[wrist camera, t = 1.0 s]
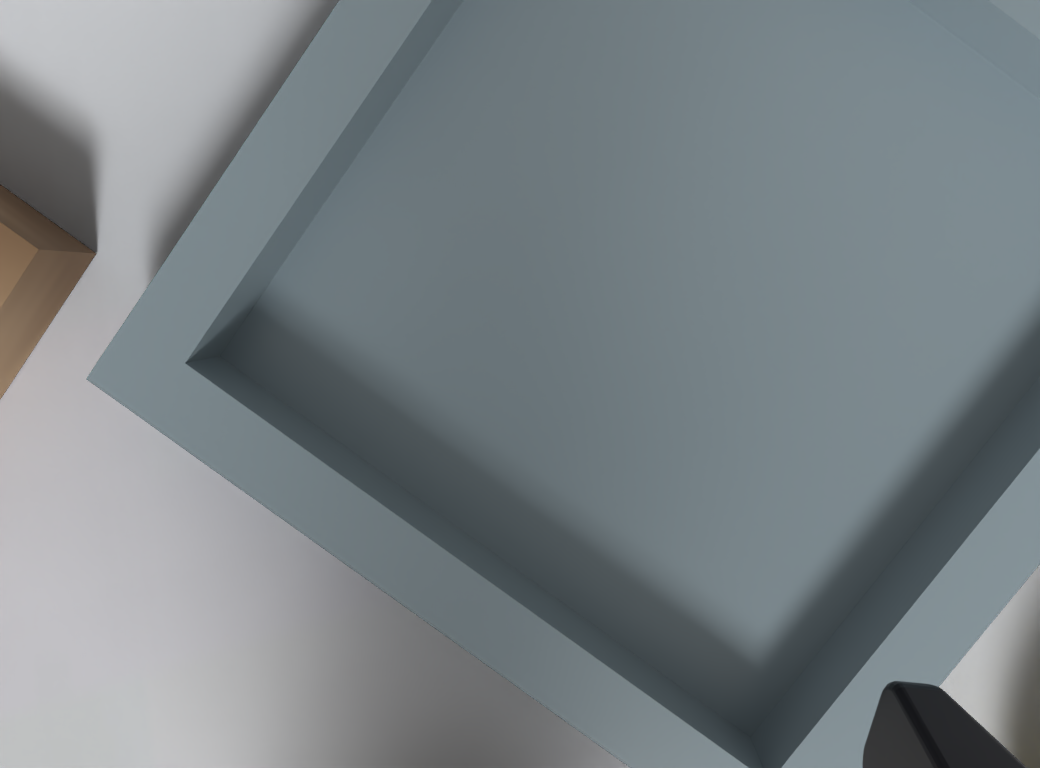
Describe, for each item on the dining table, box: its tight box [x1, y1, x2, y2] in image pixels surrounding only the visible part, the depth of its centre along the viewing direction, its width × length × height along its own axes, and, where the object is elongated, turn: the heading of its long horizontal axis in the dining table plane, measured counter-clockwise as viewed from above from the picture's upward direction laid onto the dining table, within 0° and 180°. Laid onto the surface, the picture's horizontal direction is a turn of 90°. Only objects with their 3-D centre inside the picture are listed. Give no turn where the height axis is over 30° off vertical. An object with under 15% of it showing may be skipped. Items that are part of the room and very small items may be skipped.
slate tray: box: [87, 0, 1040, 768], centre depth 20 cm, size 18×18×3 cm
